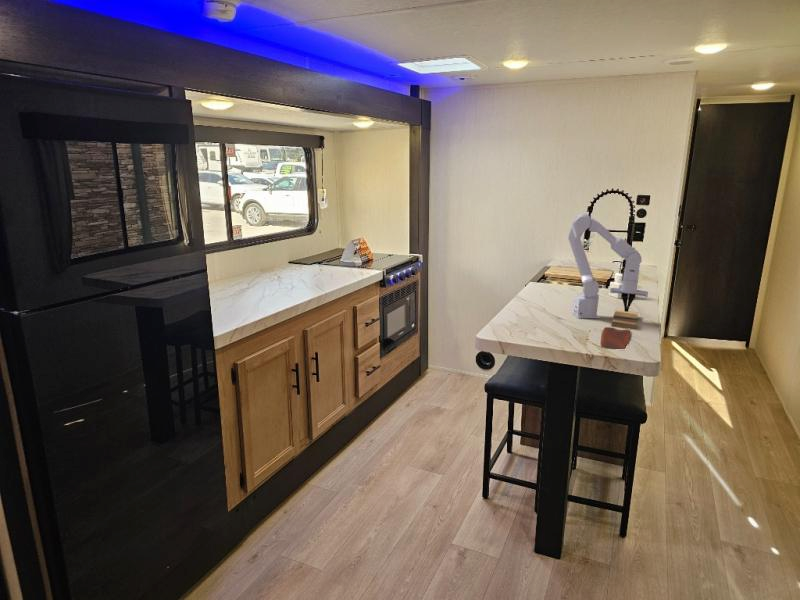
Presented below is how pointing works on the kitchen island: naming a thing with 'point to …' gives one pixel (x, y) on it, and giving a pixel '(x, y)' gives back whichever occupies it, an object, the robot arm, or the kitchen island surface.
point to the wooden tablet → (614, 338)
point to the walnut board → (624, 322)
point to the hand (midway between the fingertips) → (626, 311)
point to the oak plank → (626, 314)
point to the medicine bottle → (617, 285)
